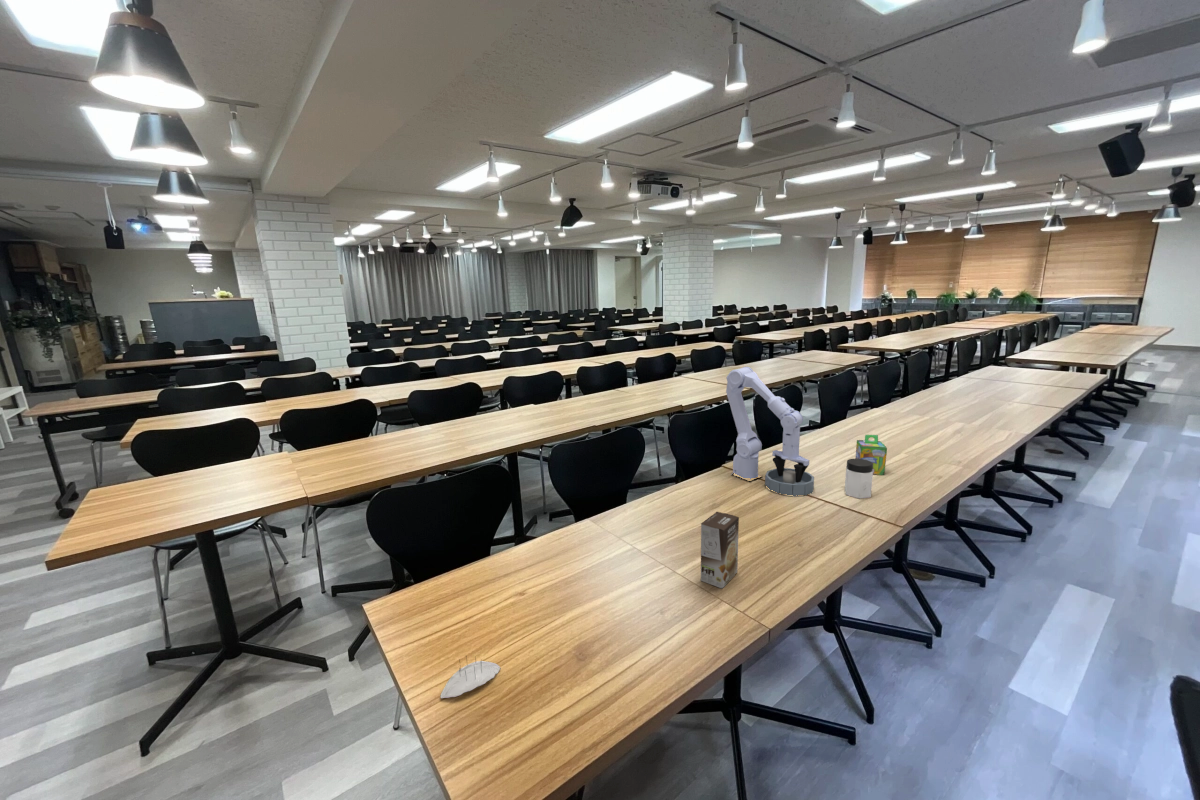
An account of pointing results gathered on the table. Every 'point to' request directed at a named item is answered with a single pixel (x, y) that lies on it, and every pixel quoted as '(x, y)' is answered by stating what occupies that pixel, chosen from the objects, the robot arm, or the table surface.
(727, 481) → the table surface
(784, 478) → the pebble
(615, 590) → the table surface
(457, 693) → the pincushion
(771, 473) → the bowl
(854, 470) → the jar
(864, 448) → the chalk box
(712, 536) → the coffee box
